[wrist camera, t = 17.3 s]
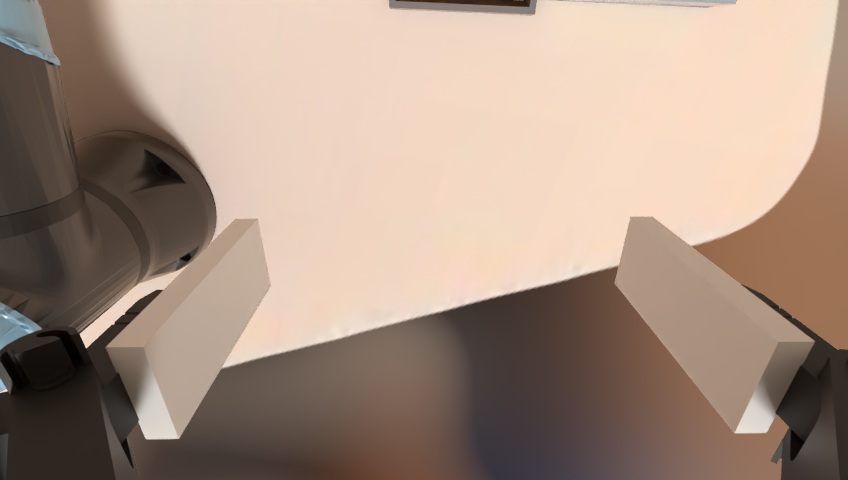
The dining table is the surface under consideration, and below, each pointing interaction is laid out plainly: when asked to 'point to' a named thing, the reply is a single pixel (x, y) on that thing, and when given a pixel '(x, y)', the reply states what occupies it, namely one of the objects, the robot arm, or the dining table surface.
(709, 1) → the trough
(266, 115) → the dining table surface
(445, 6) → the rim
